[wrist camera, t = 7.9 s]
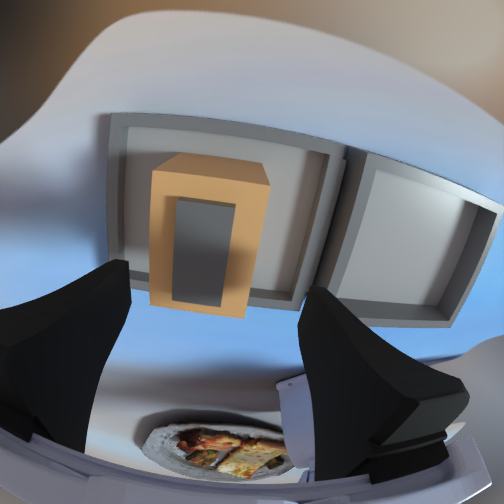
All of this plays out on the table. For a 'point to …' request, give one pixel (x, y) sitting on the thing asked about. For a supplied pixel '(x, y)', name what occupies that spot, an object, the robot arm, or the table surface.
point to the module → (205, 232)
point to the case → (404, 243)
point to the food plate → (219, 451)
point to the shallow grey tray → (237, 147)
